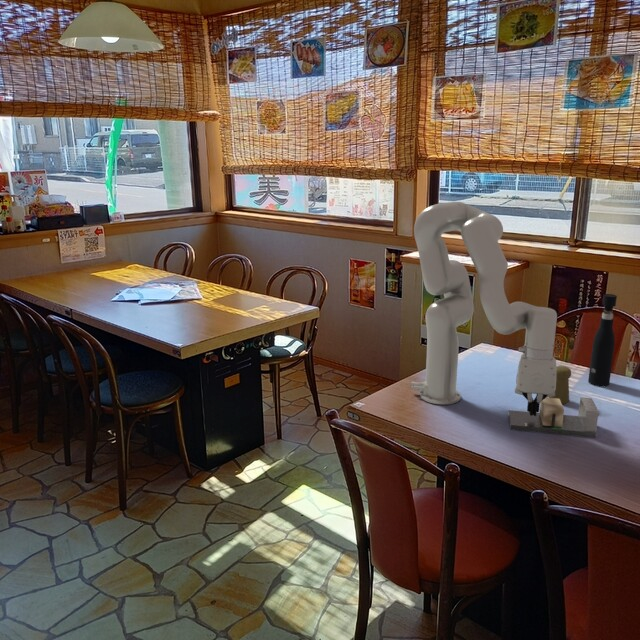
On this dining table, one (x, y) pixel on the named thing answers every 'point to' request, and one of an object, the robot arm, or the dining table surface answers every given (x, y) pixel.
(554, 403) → the block
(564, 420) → the gauge rail
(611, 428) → the dining table surface
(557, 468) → the dining table surface
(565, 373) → the olive brown pawn
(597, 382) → the black water bottle
